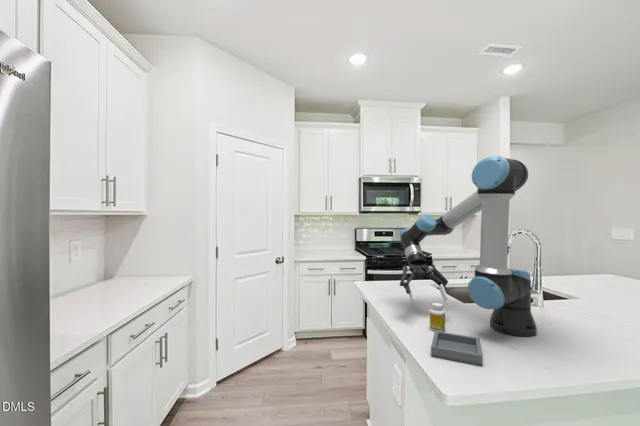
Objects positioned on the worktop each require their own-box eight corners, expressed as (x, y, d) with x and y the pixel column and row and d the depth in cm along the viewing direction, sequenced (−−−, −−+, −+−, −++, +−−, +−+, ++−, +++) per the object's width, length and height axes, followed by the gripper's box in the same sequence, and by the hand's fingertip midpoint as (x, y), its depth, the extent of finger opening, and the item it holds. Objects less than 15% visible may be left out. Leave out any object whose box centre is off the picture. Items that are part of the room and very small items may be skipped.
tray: (480, 347, 98) (479, 338, 98) (482, 366, 85) (482, 356, 85) (435, 339, 104) (435, 330, 104) (431, 356, 91) (431, 346, 91)
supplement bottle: (443, 333, 109) (443, 307, 109) (428, 330, 112) (428, 304, 112) (446, 328, 114) (445, 303, 114) (431, 325, 117) (431, 301, 117)
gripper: (439, 261, 137) (456, 304, 122) (386, 262, 135) (397, 305, 120) (444, 252, 131) (463, 294, 116) (389, 252, 130) (401, 295, 115)
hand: (429, 300), depth 118 cm, fingers open, 13 cm apart
